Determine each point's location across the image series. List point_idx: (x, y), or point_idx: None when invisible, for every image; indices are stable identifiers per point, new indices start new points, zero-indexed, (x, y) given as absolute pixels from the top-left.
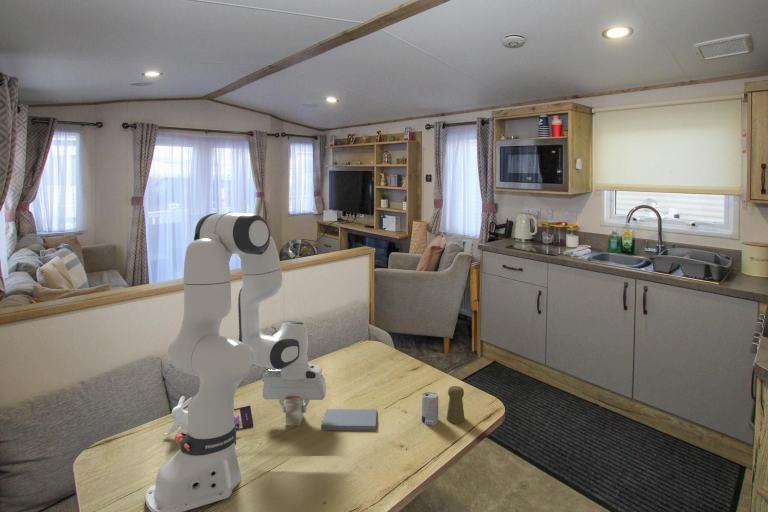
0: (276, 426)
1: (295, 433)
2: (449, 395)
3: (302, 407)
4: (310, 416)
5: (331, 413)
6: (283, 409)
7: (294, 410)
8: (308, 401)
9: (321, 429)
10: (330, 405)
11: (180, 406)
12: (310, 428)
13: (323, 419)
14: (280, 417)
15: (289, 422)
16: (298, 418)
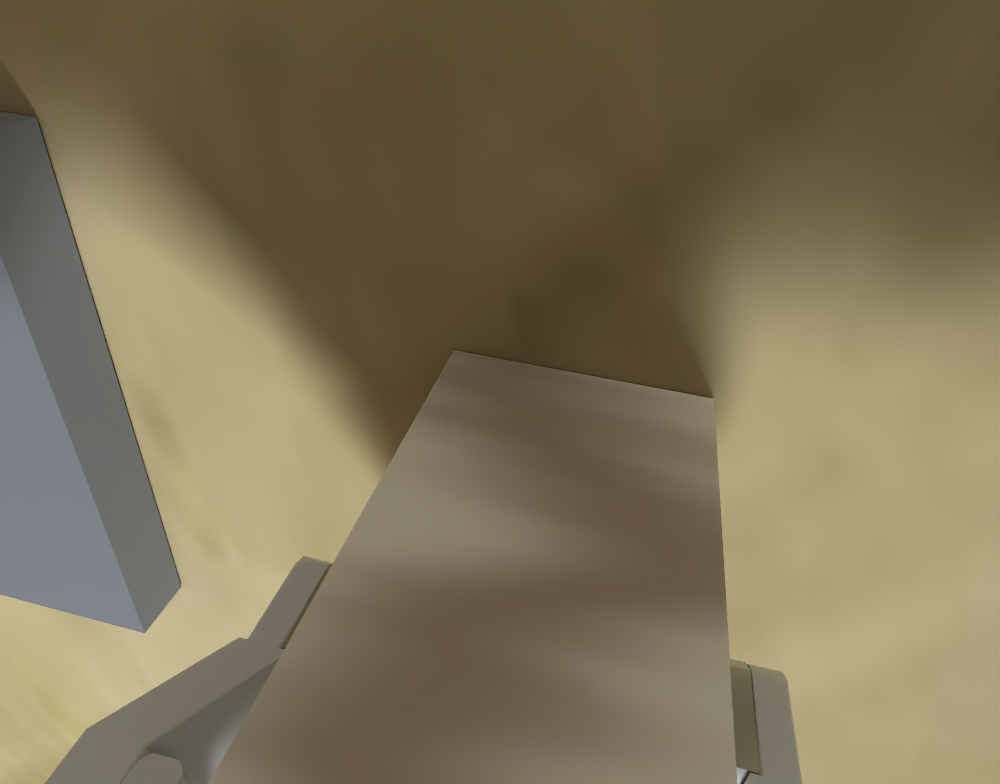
0: (908, 393)
1: (483, 6)
2: None
3: None
4: None
5: (29, 522)
6: (776, 730)
7: (471, 590)
8: (60, 769)
9: (21, 118)
10: None
11: None
12: (242, 212)
13: (41, 372)
14: (795, 650)
15: (637, 419)
16: (436, 433)
